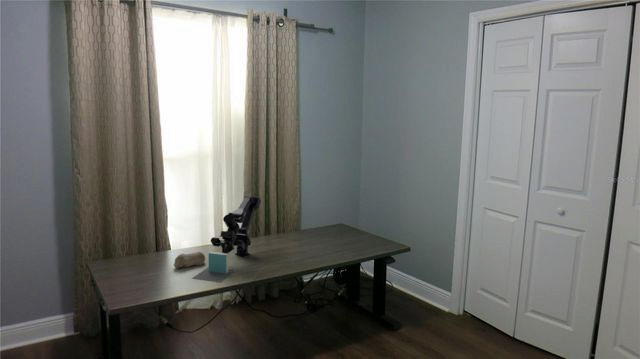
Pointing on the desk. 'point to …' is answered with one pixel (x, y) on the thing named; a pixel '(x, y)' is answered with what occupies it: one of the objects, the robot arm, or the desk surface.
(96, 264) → the desk surface
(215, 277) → the mat
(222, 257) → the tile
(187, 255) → the sculpture
